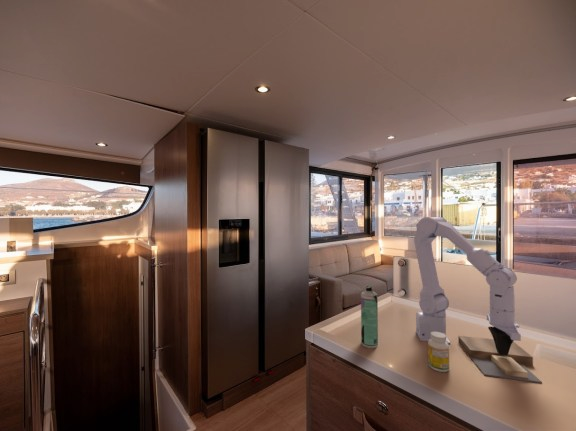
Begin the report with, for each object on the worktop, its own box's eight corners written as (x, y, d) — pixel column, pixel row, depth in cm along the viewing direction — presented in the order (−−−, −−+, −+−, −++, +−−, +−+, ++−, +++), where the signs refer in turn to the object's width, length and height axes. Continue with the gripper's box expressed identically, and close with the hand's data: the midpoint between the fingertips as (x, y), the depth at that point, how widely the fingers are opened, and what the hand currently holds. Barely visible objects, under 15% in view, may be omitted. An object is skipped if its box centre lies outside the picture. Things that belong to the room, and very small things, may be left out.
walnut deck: (470, 357, 80) (470, 349, 80) (458, 342, 89) (458, 335, 89) (532, 365, 76) (532, 357, 76) (513, 348, 85) (513, 341, 85)
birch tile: (505, 375, 70) (505, 369, 70) (491, 359, 78) (491, 354, 78) (527, 378, 69) (527, 372, 69) (510, 361, 77) (510, 356, 77)
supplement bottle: (447, 375, 71) (447, 340, 71) (426, 368, 75) (425, 335, 75) (450, 366, 75) (450, 333, 75) (430, 360, 79) (430, 328, 79)
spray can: (378, 342, 90) (378, 285, 90) (377, 349, 85) (376, 289, 85) (362, 339, 92) (362, 283, 93) (360, 346, 87) (359, 287, 88)
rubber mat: (484, 375, 71) (484, 374, 71) (470, 358, 80) (470, 357, 80) (541, 383, 67) (541, 381, 67) (521, 364, 76) (521, 363, 76)
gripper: (534, 318, 69) (534, 369, 69) (504, 301, 83) (505, 343, 83) (502, 316, 71) (503, 365, 71) (479, 300, 85) (479, 341, 85)
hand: (502, 353), depth 77 cm, fingers closed
